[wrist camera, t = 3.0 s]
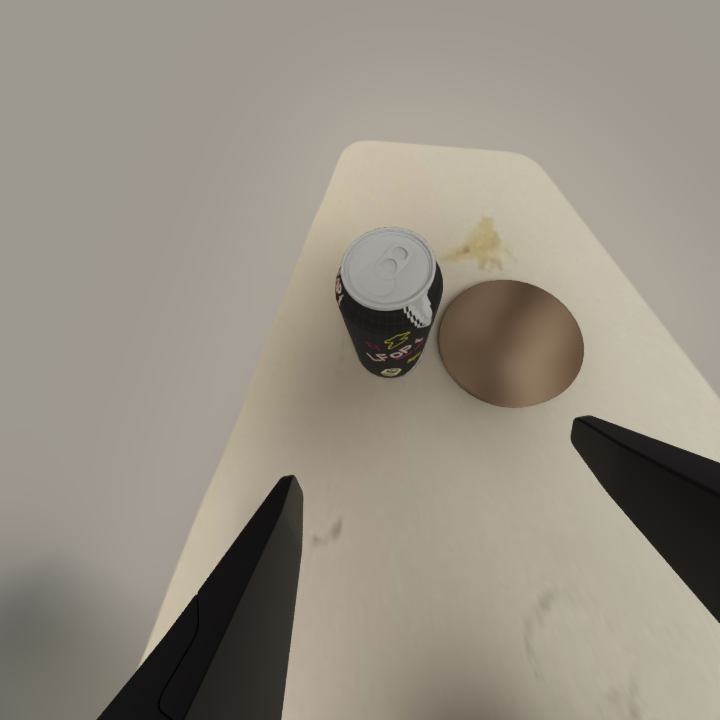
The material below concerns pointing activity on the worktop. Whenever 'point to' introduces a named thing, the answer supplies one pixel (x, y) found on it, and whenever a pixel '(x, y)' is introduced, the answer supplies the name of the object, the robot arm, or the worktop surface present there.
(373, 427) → the worktop surface
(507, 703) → the worktop surface
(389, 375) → the beverage can
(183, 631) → the robot arm
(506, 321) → the bronze round coaster
